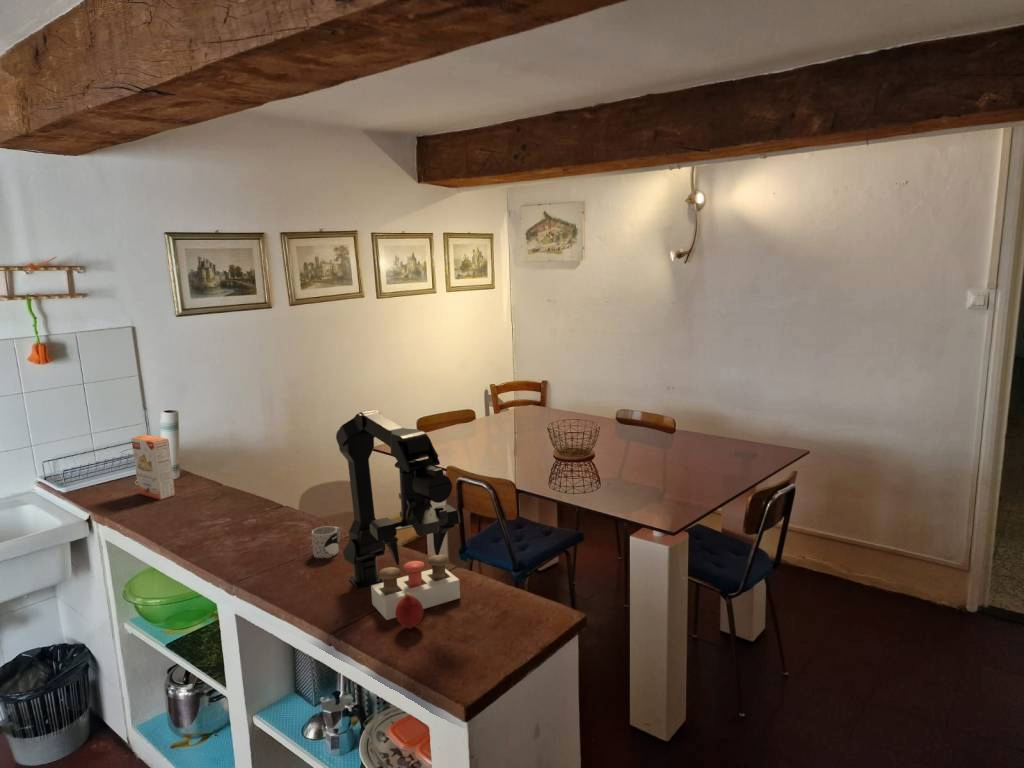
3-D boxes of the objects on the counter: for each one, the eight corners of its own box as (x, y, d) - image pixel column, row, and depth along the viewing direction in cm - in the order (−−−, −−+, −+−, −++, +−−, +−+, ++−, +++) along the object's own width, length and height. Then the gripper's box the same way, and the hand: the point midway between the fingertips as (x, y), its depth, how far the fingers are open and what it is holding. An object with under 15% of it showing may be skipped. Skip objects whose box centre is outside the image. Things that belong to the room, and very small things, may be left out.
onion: (425, 620, 151) (423, 586, 150) (422, 634, 146) (420, 598, 144) (398, 621, 151) (396, 587, 150) (394, 635, 145) (392, 599, 144)
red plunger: (402, 586, 161) (400, 564, 160) (420, 581, 163) (419, 559, 162) (410, 594, 157) (408, 571, 156) (428, 588, 159) (427, 565, 158)
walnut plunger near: (377, 593, 158) (376, 570, 157) (396, 588, 160) (395, 565, 159) (385, 601, 154) (383, 577, 153) (404, 595, 156) (403, 572, 155)
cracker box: (137, 494, 248) (130, 437, 244) (154, 490, 253) (147, 433, 249) (159, 500, 240) (152, 441, 237) (176, 495, 245) (169, 437, 242)
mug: (329, 560, 185) (327, 536, 184) (308, 557, 187) (306, 534, 186) (350, 545, 195) (348, 523, 194) (329, 543, 197) (327, 521, 196)
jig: (372, 604, 160) (371, 585, 159) (443, 583, 169) (442, 566, 168) (386, 620, 152) (385, 600, 151) (460, 597, 161) (459, 579, 160)
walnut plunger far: (426, 579, 164) (424, 557, 163) (443, 574, 166) (442, 553, 165) (434, 587, 160) (433, 564, 159) (452, 581, 162) (451, 559, 161)
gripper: (385, 510, 137) (389, 584, 139) (470, 493, 146) (472, 563, 149) (366, 494, 146) (371, 564, 149) (447, 479, 155) (450, 545, 158)
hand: (417, 559), depth 151 cm, fingers open, 9 cm apart
